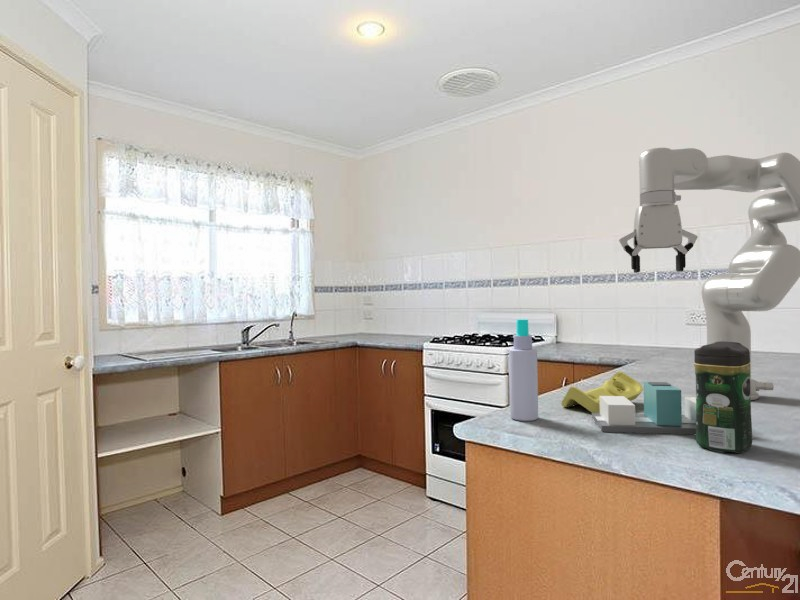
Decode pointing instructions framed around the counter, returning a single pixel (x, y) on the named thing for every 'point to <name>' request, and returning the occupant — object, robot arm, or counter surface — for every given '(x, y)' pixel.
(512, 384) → the spray bottle
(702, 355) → the coffee jar
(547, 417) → the counter surface
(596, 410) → the plastic component
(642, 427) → the rail board
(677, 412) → the block
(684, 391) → the counter surface
